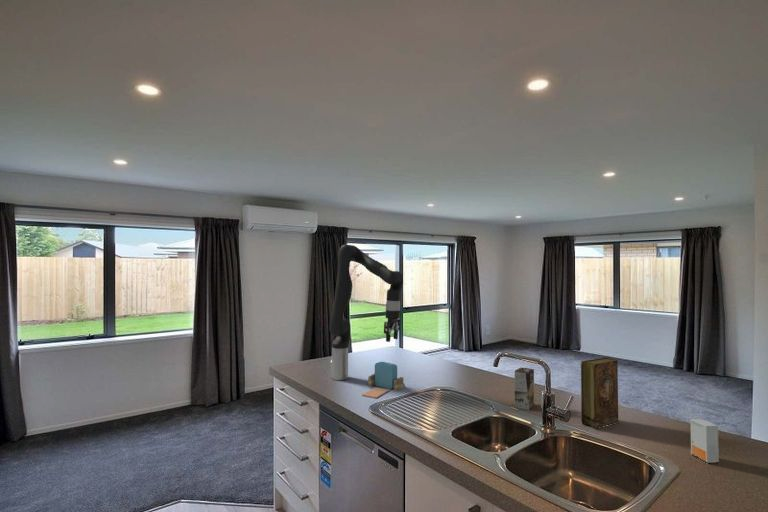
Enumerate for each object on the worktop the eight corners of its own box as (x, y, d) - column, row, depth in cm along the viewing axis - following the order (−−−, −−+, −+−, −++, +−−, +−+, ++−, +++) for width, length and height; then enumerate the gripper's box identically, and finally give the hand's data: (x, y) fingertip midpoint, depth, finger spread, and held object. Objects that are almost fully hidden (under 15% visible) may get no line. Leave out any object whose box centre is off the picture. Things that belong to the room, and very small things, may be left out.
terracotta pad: (361, 395, 185) (361, 394, 185) (375, 388, 197) (375, 387, 197) (376, 398, 181) (376, 397, 181) (389, 390, 193) (389, 389, 193)
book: (607, 417, 159) (606, 357, 160) (620, 422, 154) (619, 359, 155) (581, 424, 152) (580, 361, 152) (594, 430, 147) (593, 364, 148)
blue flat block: (397, 388, 198) (397, 364, 198) (392, 390, 194) (392, 366, 195) (379, 383, 205) (380, 361, 206) (374, 385, 202) (374, 362, 202)
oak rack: (368, 386, 200) (368, 376, 201) (377, 381, 209) (377, 372, 209) (396, 391, 192) (396, 381, 193) (404, 386, 201) (404, 376, 201)
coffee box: (529, 410, 167) (528, 373, 168) (514, 407, 171) (514, 371, 171) (534, 404, 174) (534, 368, 175) (520, 401, 178) (519, 366, 179)
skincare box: (690, 455, 127) (689, 418, 127) (702, 454, 127) (701, 418, 128) (707, 464, 121) (706, 426, 121) (719, 464, 121) (718, 425, 122)
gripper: (392, 307, 208) (391, 337, 208) (380, 309, 195) (378, 341, 195) (405, 308, 204) (404, 339, 204) (393, 311, 192) (392, 343, 192)
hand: (391, 340), depth 200 cm, fingers open, 8 cm apart
